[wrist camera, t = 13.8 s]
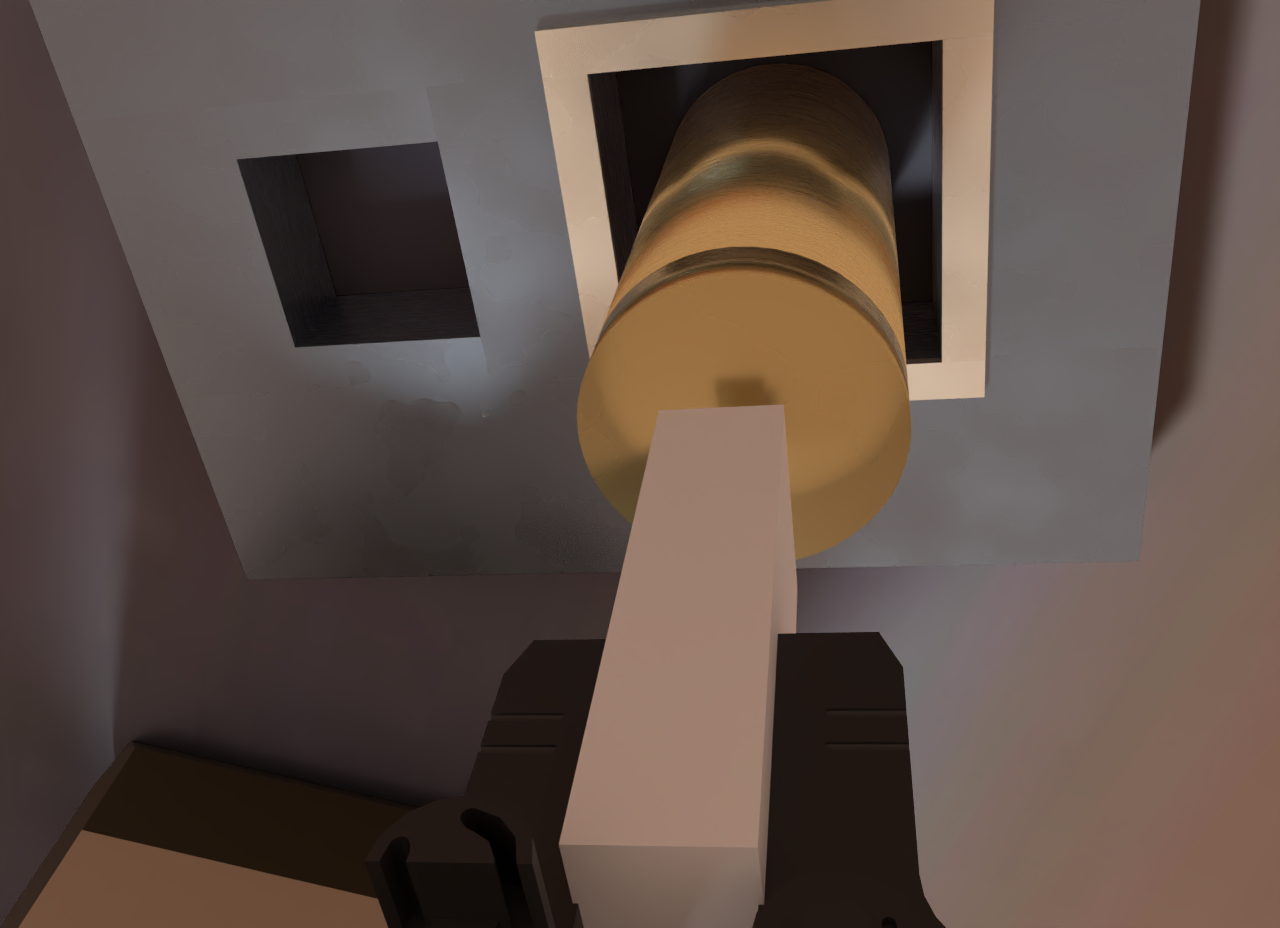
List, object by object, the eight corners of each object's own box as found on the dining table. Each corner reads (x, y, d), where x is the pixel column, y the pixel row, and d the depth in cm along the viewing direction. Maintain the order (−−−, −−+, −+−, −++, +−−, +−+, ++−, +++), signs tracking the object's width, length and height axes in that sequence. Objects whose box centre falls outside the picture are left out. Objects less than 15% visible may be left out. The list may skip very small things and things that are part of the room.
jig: (286, 518, 31) (191, 665, 26) (43, -189, 22) (-158, -152, 18) (1115, 493, 27) (1171, 659, 23) (1196, -360, 19) (1311, -370, 14)
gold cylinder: (682, 283, 26) (604, 568, 18) (655, 75, 24) (550, 291, 15) (893, 269, 25) (914, 561, 17) (886, 50, 23) (907, 265, 14)
